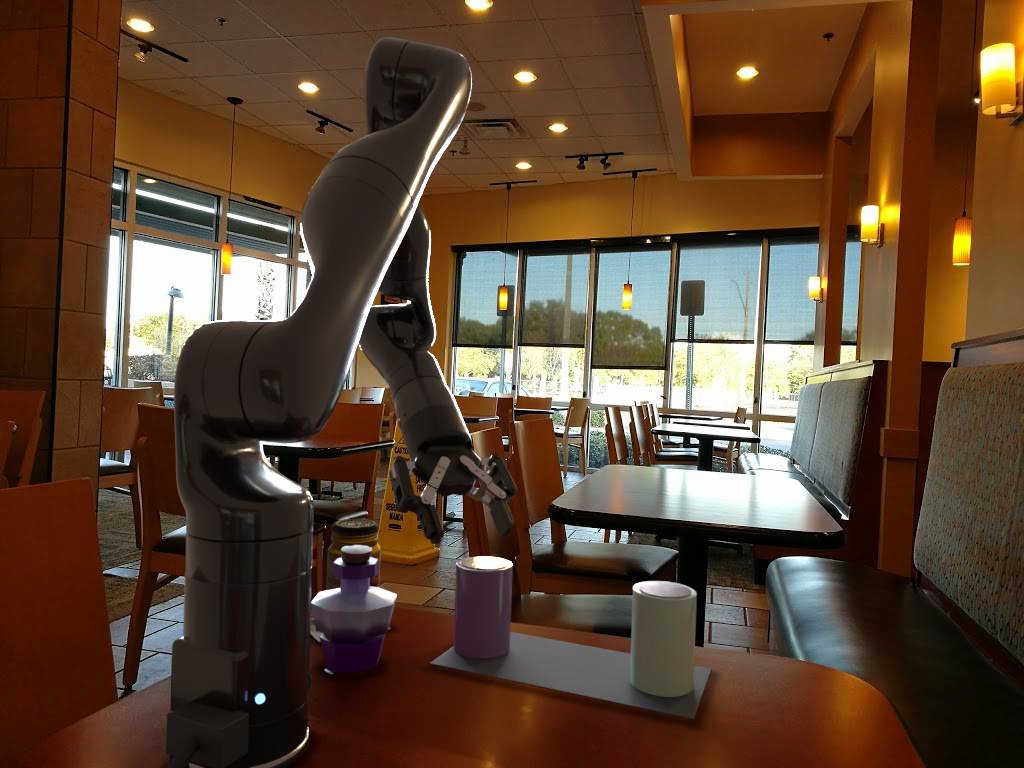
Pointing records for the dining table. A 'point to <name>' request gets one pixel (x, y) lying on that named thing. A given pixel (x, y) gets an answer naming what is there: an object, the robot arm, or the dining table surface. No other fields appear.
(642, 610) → the celadon tumbler
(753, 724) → the dining table surface
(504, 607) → the purple tumbler
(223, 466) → the robot arm
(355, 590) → the potion bottle
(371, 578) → the condiment
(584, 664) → the placemat
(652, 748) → the dining table surface
